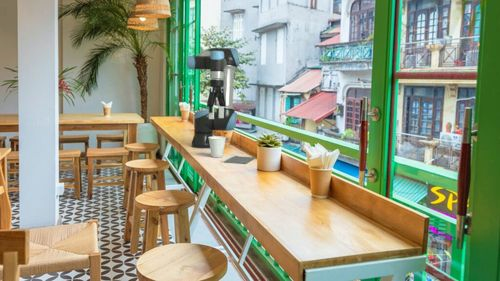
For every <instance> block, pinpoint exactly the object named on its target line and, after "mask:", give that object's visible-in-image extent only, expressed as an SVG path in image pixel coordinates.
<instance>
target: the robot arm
mask: <svg viewBox="0 0 500 281" xmlns="http://www.w3.org/2000/svg"><path fill="white" fill-rule="evenodd" d="M239 59H240V58H239V52H238V49H237V48H234V47H233V48H232V47H224V48H223V47H210V48H207V49H203V50H202V51H200V53H199V54H197V55H188V56H187V57H186V67H187V69H189V70H193V71H194V70H209V79H210V81H209V87H210V88H209V91H208V92H209V93H208V97H207V102H206V106H207V107H208V109H204V110H203V109H202V110H197V111H195V113H194V117H193V118H194V119H193V120H194V127H193V128H194V129H193V131H194V132H193V133H194V135H193V138H192V140H191V141H192V142H191V147H192V148H197V149H199V148H200V149H210V143H209V138H208V137H213V136H214V134H213V131H226V132H227V131H230V132H231V131H234V130H235V128H236V124H237V117H238V113H237V112H236V110H235V108H234V106H233V104H234V102H233V101H234V80H235V78H234V77H235V72H236V70H237V69H238V67H240V60H239ZM216 99H217V102H218V105H219V106H218V107H217V108H216V111H215V107H214V105H215V102H216Z"/></svg>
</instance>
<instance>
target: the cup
mask: <svg viewBox="0 0 500 281" xmlns="http://www.w3.org/2000/svg"><path fill="white" fill-rule="evenodd" d="M208 138H209V143H210V148H209V149H210V154H211V157H212V158H214V159H221V158H223V156H224V151H225V145H226V139H227V137H226V136H220V135H219V136H218V135H216V136H214V135H213V137H208Z"/></svg>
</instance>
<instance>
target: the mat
mask: <svg viewBox="0 0 500 281" xmlns="http://www.w3.org/2000/svg"><path fill="white" fill-rule="evenodd" d="M253 160H256V157H254V156H239V155H234V157H232V158H230V159H228V160H226V161H224V162H223V163H225V164H238V165H239V164H240V165H241V164H242V165H243V164H244V165H246V164H249V163H251V162H252V161H253Z"/></svg>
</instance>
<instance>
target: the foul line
mask: <svg viewBox="0 0 500 281" xmlns="http://www.w3.org/2000/svg"><path fill="white" fill-rule="evenodd" d="M234 156H235V155H234V154H230V155H229V156H227V157H225V158H223V159H221V160H220V162H222V163H225V162H224V161H226V160H228V159H230V158H232V157H234Z"/></svg>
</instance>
